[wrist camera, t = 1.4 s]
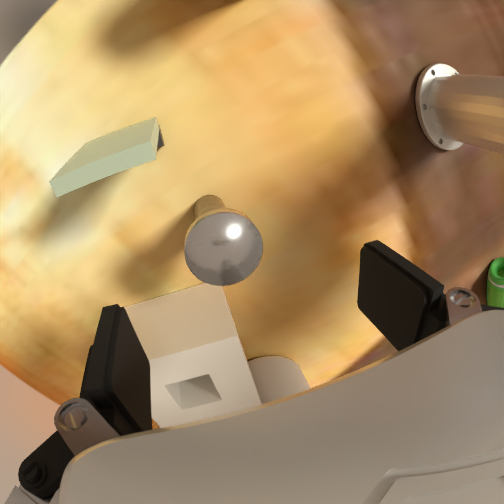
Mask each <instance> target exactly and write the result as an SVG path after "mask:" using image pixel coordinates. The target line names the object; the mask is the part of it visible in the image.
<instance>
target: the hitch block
mask: <svg viewBox="0 0 504 504" xmlns="http://www.w3.org/2000/svg"><path fill="white" fill-rule="evenodd" d="M124 308H125V310H126V312H127V314H128V317H129V319H130V321H131V323H132V326H133V328H134V330H135V332H136V334H137V337H138V339H139V341H140V343H141V345H142V347H143V349H144V351H145V354H146V356H147V358H148V360H149V363H150V384H151V414H152V419H153V420H154V421H155V422H156V423H157V424H158V425H159V426H160V427H161V428H163V427H168V426H174V425H179V424H184V423H189V422H193V421H198V420H202V419H207V418H211V417H215V416H220V415H224V414H228V413H232V412H236V411H240V410H243V409H247V408H251V407H254V406H258V405H261V404H262V403H261V401H260V398H259V395H258V392H257V389H256V386H255V383H254V380H253V377H252V374H251V371H250V368H249V365H248V362H247V359H246V356H245V353H244V350H243V347H242V344H241V341H240V338H239V335H238V332H237V329H236V326H235V323H234V320H233V317H232V314H231V311H230V308H229V305H228V302H227V299H226V296H225V293H224V290H223V287H222V286H216V285H211V284H208V283H203V284H200V285H196V286H193V287H190V288H187V289H183V290H180V291H177V292H173V293H170V294H167V295H163V296H160V297H156V298H153V299H150V300H146V301H143V302H140V303H136V304H133V305H129V306H126V307H124Z"/></svg>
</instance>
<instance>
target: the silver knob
mask: <svg viewBox="0 0 504 504" xmlns="http://www.w3.org/2000/svg"><path fill="white" fill-rule="evenodd" d="M194 217H195V221H194V222H193V223H192V224H191V226H190V227H189V229H188V231H187V233H186V236H185V241H184V252H185V260H186V263H187V265H188V268H189V269H190V271H191V272H192V273H193V274H194V275H195V276H196V277H197V278H198V279H200V280H201V281H203V282H205V283H208V284H211V285H216V286H226V285H232V284H235V283H238V282H240V281H242V280H244V279H245V278H247V277H248V276H249V275H250V274H251V273H252V272H253V271H254V270H255V269H256V267H257V266H258V264H259V262H260V260H261V257H262V252H263V242H262V238H261V235H260V233H259V231H258V229H257V228H256V226H255V225H254V224H253V222H252V221H251V220H250V219H249V218H248V217H247V216H246V215H244V214H243V213H241V212H239V211H236V210H233V209H227V208H226V207H225V205H224V203H223V202H222V200H221V199H220V198H218V197H217V196H214V195H206V196H203V197H201V198H200V199H199V200H198V201H197V202H196V203H195V206H194Z"/></svg>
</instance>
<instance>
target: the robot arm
mask: <svg viewBox="0 0 504 504" xmlns="http://www.w3.org/2000/svg"><path fill="white" fill-rule="evenodd" d="M415 101H416V110H417V115H418V119H419V122H420V125H421V127H422V129H423V132H424V134H425V135H426V137H427V138H428V139H429V141H430V142H431V143H432V144H433V145H435V146H437V147H438V148H441V149H444V150H455V149H457V148H459V147H460V146H461V145H462V144H463V143H465V144H469V145H473V146H477V147H481V148H485V149H489V150H492V151H496V152H499V153H502V154H504V77H503V76H490V75H472V74H459V73H458V72H457V71H456V70H455V69H454V68H452V67H450V66H449V65H446V64H431V65H429V66H428V67H426V68H425V69H424V70H423V71H422V73H421V75H420V76H419V79H418V82H417V87H416V97H415ZM443 289H444V285H442V284H441V283H440V282H438V281H437V280H435V279H434V278H433V277H431V276H430V275H428V274H427V273H426V272H424V271H423V270H421V269H420V268H419V267H417V266H416V265H414V264H413V263H411V262H410V261H408V260H407V259H406V258H404V257H403V256H401V255H400V254H398V253H397V252H395V251H394V250H392V249H391V248H389V247H388V246H386V245H385V244H383V243H382V242H380V241H378V240H376V241H372V242H368V243H365V244H364V246H363V248H362V249H361V252H360V272H359V287H358V300H357V303H358V307H359V309H360V310H361V311H362V312H363V313H364V315H365V316H366V317H367V318H368V319H369V320H370V321H371V322H372V323H373V324H374V325H375V326H376V327H377V328H378V329H379V331H380V332H381V333H382V334H383V335H384V336H385V337H386V338H387V339H388V340H389V341H390V342H391V344H392V345H393V346H394V347H395V348H396V349H397V350H398V351H399V352H397V353H394V354H392V355H390V356H388V357H386V358H384V359H382V360H379V361H377V362H375V363H373V364H370V365H368V366H366V367H364V368H361V369H359V370H357V371H354V372H352V373H349V374H347V375H345V376H342V377H340V378H337V379H334V380H332V381H329V382H327V383H324V384H321V385H319V386H316V387H313V388H310V389H308V390H305V391H302V392H299V393H296V394H293V395H290V396H287V397H284V398H281V399H278V400H274V401H271V402H268V403H264V404H261V405H258V406H254V407H251V408H247V409H243V410H240V411H236V412H232V413H228V414H224V415H220V416H215V417H211V418H207V419H202V420H198V421H193V422H189V423H184V424H179V425H174V426H168V427H163V428H157V429H152V414H151V384H150V363H149V360H148V358H147V356H146V354H145V351H144V349H143V347H142V345H141V343H140V341H139V339H138V337H137V334H136V332H135V330H134V328H133V326H132V323H131V321H130V319H129V317H128V314H127V312H126V310H125V308H124V307H120V306H119V305H118V304H115V305H111V306H106V307H103V309H102V313H101V316H100V320H99V324H98V328H97V332H96V336H95V340H94V344H93V345H92V346H91V347H90V349H89V353H88V358H87V362H86V367H85V372H84V376H83V381H82V387H81V392H80V398H73V399H70V400H68V401H66V402H64V403H63V404H62V405H61V406H60V407H59V408H58V410H57V412H56V414H55V417H54V422H55V423H54V424H55V426H56V429H57V431H56V432H55V433H54V434H53V435H51V436H50V437H49V438H48V439H47V440H46V441H45V442H44V443H43V444H42V445H40V446H39V447H38V448H37V449H36V450H35V451H34V452H32V453H31V455H29V456H28V457H27V458H26V459H25V460H24V461H23V462H22V464H21V466H20V468H19V473H18V476H19V481H20V486H19V488H18V487H17V486H15V487H14V488H13V490H12V492H11V494H10V495H9V497H8V499H7V501H6V502H5V504H504V308H501V307H494V306H487V305H480V301H479V298H478V297H477V295H476V294H475V293H474V292H472V291H470V290H468V289H466V288H461V287H455V288H451V289H450V290H448V291H447V293H446V295H445V294H444V293H443Z"/></svg>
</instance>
